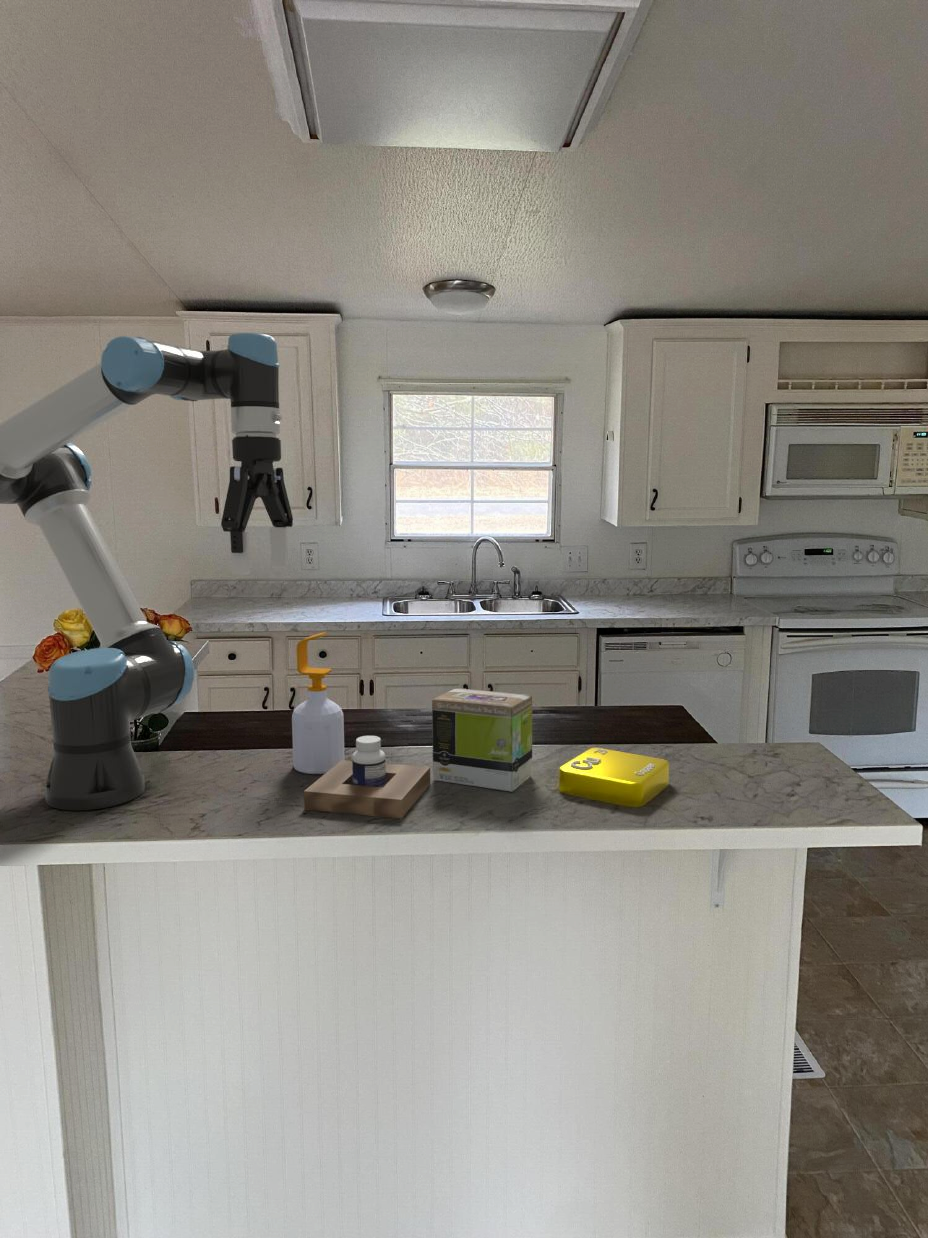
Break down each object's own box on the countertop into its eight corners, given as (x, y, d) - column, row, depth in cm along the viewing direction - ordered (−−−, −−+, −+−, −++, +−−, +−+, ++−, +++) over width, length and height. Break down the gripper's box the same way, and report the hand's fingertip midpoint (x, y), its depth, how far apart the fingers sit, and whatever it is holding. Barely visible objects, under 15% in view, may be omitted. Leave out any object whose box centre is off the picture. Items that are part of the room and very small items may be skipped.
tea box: (533, 776, 154) (534, 693, 152) (512, 794, 145) (513, 707, 143) (455, 764, 160) (455, 685, 158) (430, 781, 151) (430, 697, 149)
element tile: (639, 812, 139) (640, 782, 138) (553, 793, 147) (554, 766, 146) (672, 784, 151) (673, 757, 150) (591, 769, 159) (592, 743, 158)
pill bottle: (349, 793, 145) (347, 736, 144) (380, 789, 147) (379, 732, 146) (358, 804, 140) (356, 745, 139) (390, 799, 142) (389, 741, 141)
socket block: (304, 809, 138) (303, 791, 138) (342, 776, 154) (341, 760, 153) (401, 818, 134) (401, 799, 134) (430, 784, 150) (430, 767, 149)
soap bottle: (334, 776, 154) (331, 638, 150) (285, 773, 155) (281, 636, 152) (351, 760, 162) (348, 629, 158) (304, 757, 164) (300, 627, 160)
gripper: (240, 431, 126) (245, 578, 130) (310, 439, 150) (313, 563, 154) (193, 432, 128) (199, 577, 131) (269, 439, 152) (274, 562, 155)
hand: (261, 570), depth 143 cm, fingers open, 13 cm apart
